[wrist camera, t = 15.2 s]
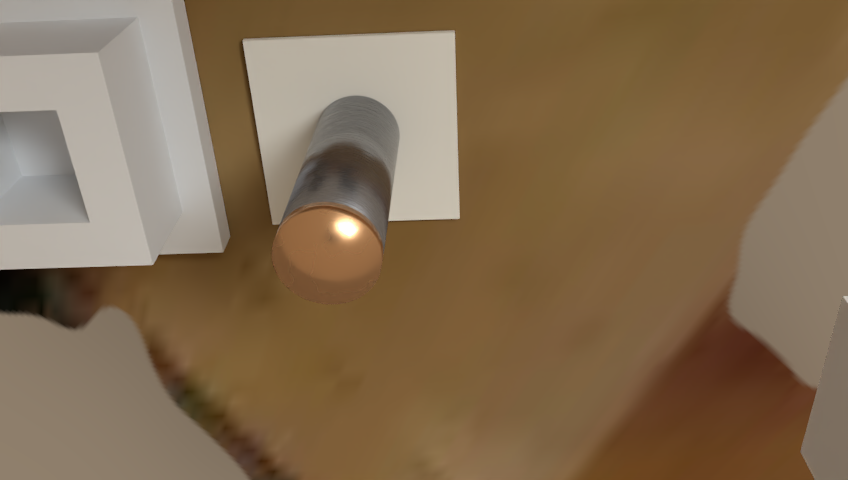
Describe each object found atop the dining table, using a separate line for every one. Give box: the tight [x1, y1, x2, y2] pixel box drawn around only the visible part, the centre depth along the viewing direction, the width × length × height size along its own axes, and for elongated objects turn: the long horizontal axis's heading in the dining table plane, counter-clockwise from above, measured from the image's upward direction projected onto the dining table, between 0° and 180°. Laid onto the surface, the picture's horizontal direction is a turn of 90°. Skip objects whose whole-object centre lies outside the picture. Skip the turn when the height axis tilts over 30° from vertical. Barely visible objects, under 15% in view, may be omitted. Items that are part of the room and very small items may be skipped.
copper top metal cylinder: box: [272, 95, 400, 304], centre depth 42 cm, size 5×5×14 cm
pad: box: [243, 30, 460, 225], centre depth 49 cm, size 12×12×1 cm
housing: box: [0, 0, 230, 270], centre depth 45 cm, size 18×16×8 cm
